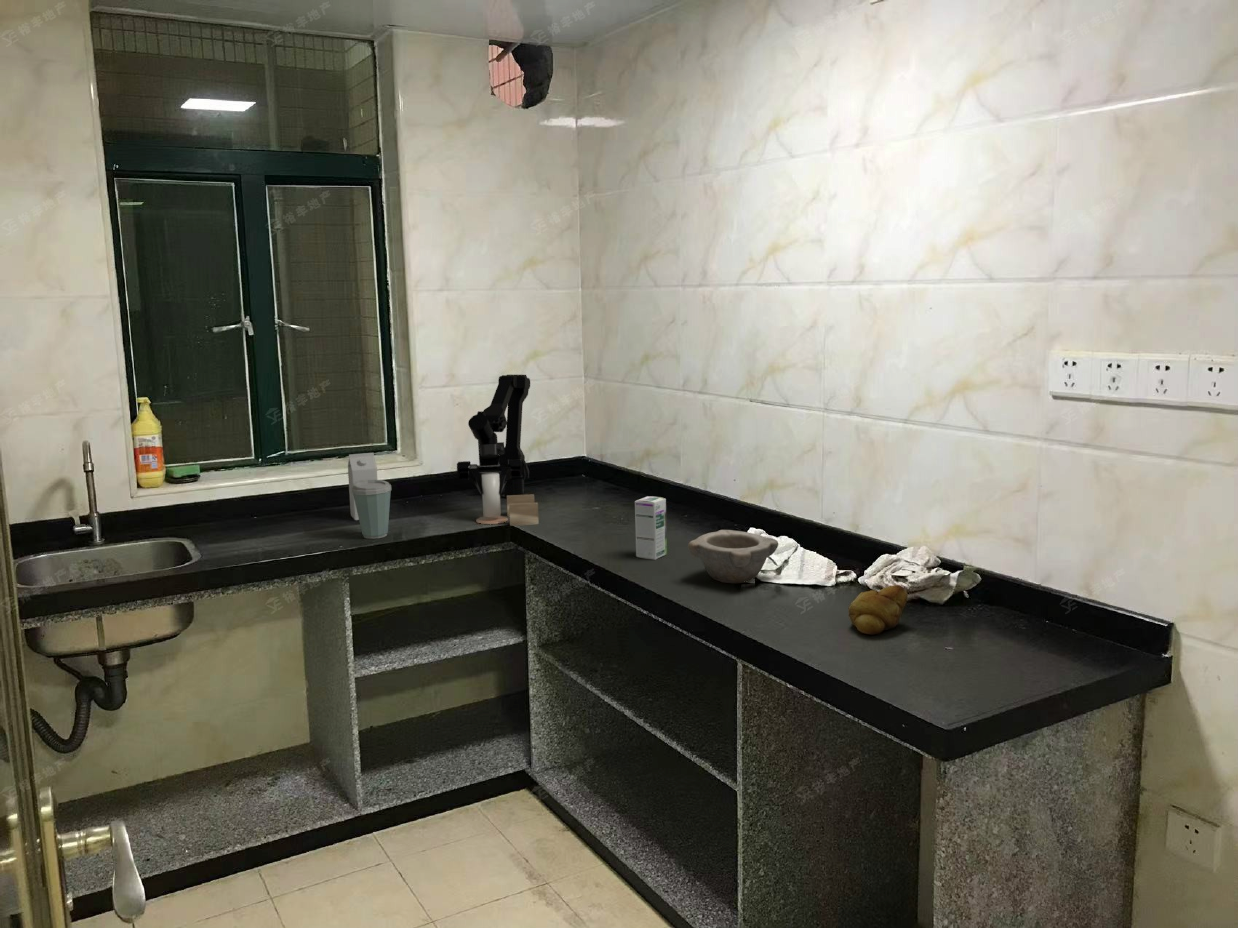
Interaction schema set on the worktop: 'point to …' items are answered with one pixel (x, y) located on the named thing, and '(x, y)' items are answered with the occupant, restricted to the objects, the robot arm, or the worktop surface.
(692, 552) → the mortar
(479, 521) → the pad
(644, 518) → the syrup box
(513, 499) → the wall
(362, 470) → the milk carton
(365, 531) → the disposable coffee cup
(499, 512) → the white cylinder
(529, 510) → the outer gate wall
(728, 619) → the worktop surface
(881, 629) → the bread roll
